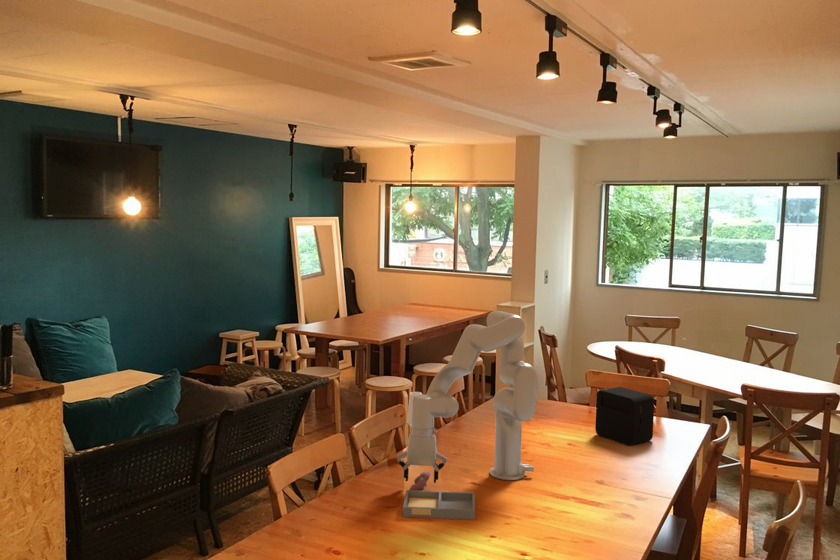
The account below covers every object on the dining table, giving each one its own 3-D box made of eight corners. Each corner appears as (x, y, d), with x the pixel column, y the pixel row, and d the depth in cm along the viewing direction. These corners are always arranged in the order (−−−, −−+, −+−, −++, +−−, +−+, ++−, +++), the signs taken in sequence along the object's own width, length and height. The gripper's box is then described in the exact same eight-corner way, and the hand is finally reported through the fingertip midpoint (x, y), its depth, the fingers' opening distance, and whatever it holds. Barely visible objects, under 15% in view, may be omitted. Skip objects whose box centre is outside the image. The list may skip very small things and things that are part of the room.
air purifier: (655, 441, 298) (657, 395, 296) (632, 447, 290) (634, 399, 288) (617, 429, 314) (619, 385, 313) (594, 434, 306) (596, 389, 304)
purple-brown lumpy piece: (419, 499, 236) (429, 482, 235) (407, 492, 237) (417, 475, 236) (425, 488, 246) (434, 471, 245) (413, 481, 247) (422, 465, 246)
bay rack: (474, 501, 231) (474, 492, 231) (475, 520, 217) (475, 510, 217) (406, 498, 233) (406, 489, 232) (402, 517, 218) (402, 507, 218)
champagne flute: (411, 456, 274) (412, 396, 272) (403, 451, 280) (404, 392, 278) (426, 454, 277) (427, 394, 275) (418, 449, 283) (419, 390, 281)
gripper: (448, 429, 243) (446, 478, 244) (398, 427, 244) (396, 475, 245) (447, 436, 235) (445, 486, 237) (396, 433, 236) (394, 483, 238)
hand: (420, 480), depth 241 cm, fingers open, 9 cm apart
